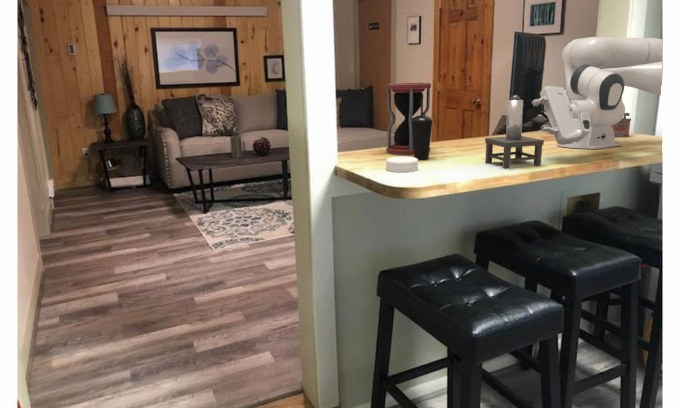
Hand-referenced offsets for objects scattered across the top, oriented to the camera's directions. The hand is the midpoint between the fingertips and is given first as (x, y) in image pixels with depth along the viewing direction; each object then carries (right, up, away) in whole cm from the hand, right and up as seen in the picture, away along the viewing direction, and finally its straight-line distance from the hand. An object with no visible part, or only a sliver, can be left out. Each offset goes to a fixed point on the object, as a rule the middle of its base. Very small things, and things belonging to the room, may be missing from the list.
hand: (537, 115), depth 165 cm
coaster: (-43, -18, -1) cm, 47 cm away
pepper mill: (-8, -8, -1) cm, 11 cm away
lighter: (+52, -1, +50) cm, 73 cm away
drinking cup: (-35, -13, +15) cm, 40 cm away
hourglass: (-37, -9, +30) cm, 49 cm away
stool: (-8, -15, +1) cm, 17 cm away
